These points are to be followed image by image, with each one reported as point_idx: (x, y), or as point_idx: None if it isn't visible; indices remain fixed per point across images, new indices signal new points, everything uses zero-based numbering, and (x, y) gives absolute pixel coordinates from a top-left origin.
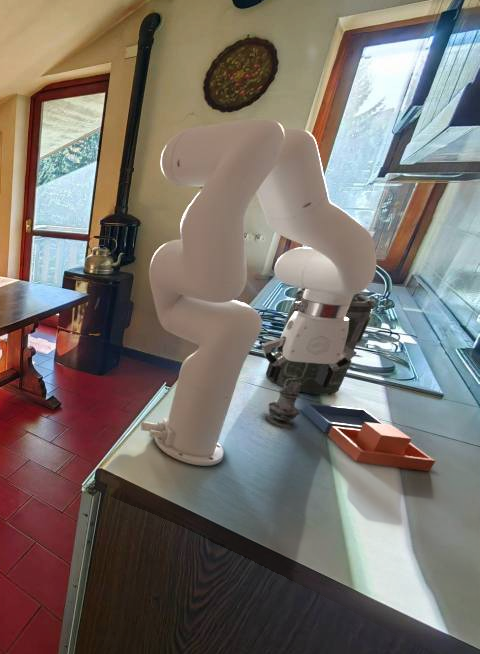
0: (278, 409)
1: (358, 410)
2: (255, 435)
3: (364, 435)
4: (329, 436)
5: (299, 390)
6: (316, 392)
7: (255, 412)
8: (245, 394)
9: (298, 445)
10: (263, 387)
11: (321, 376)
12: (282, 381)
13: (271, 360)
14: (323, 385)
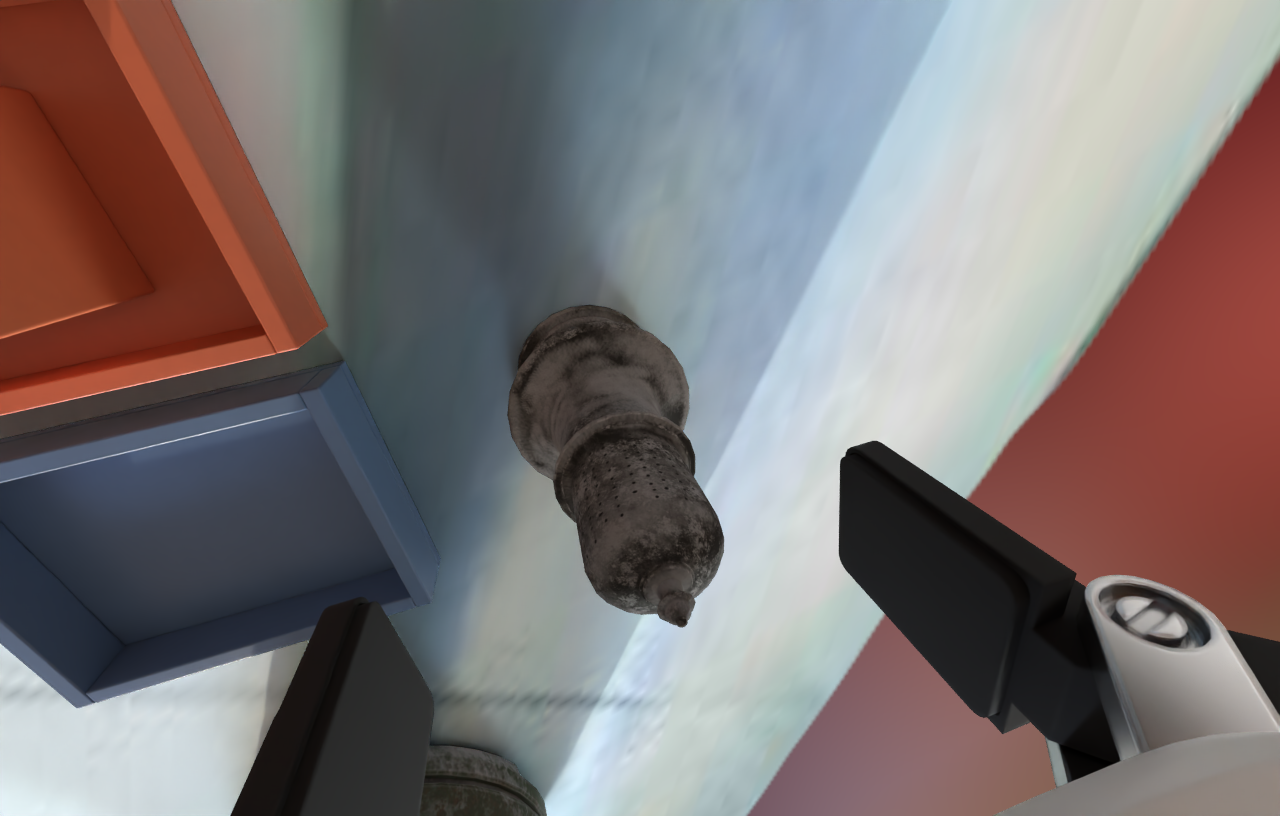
0: (651, 360)
1: (115, 679)
2: (767, 108)
3: (41, 250)
4: (319, 311)
5: None
6: None
7: None
8: None
9: (534, 78)
10: (580, 701)
11: (383, 750)
12: (502, 779)
13: (1249, 656)
14: (362, 610)
